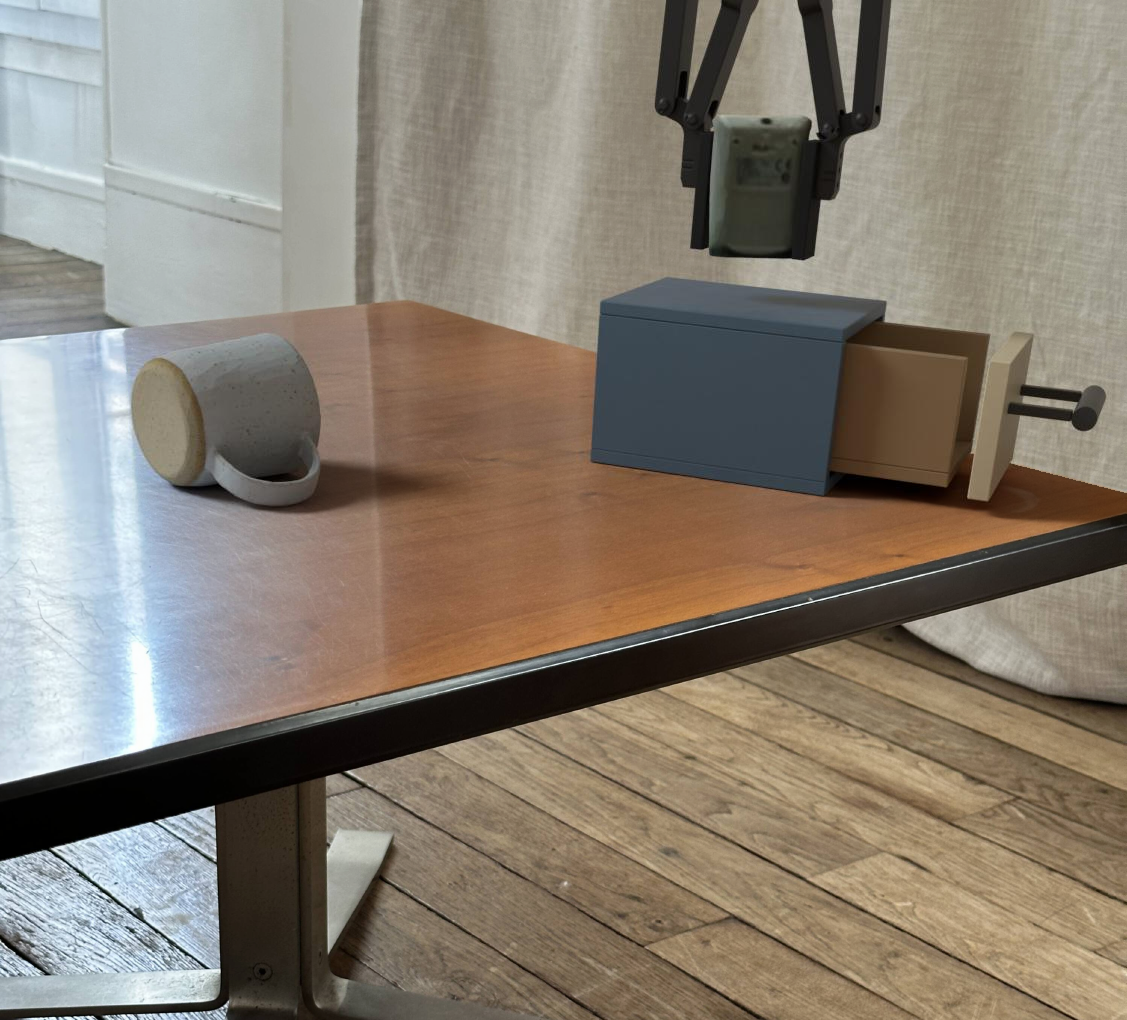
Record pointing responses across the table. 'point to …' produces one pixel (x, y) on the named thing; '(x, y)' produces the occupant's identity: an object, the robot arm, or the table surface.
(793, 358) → the cabinet
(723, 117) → the grey electronic device
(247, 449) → the ceramic mug
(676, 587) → the table surface
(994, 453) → the drawer
